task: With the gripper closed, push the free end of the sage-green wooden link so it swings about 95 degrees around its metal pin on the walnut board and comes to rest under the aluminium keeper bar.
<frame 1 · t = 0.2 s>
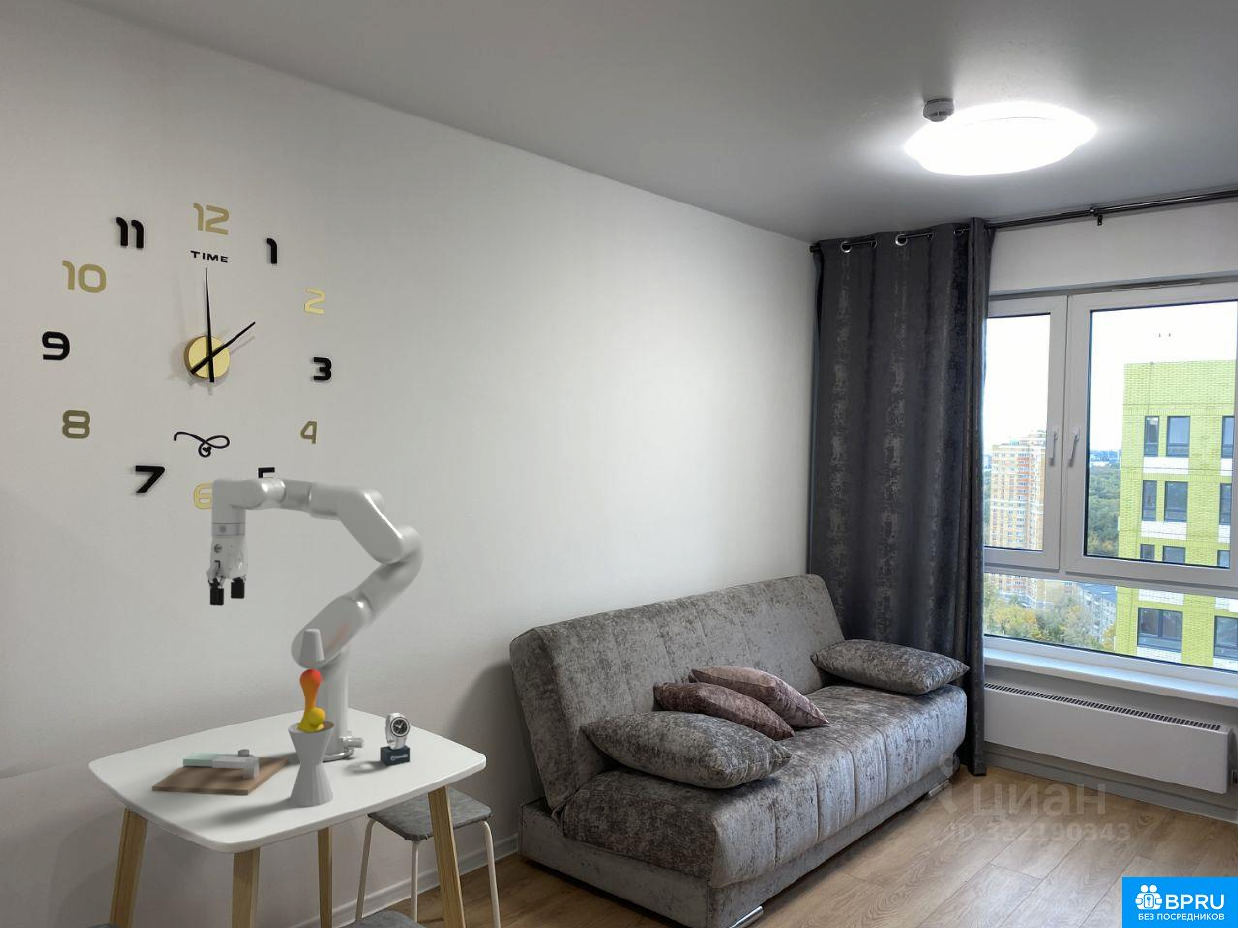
hand: (227, 601, 219), 36 cm above the table, tool pointing down, fingers open, 9 cm apart
keeper: (235, 780, 200), resting on board
board: (223, 775, 203), on the table
link: (220, 760, 207), point 2 cm above the table, hinge at 0.0°
lava lamp: (311, 799, 190), on the table
watch: (395, 762, 213), on the table
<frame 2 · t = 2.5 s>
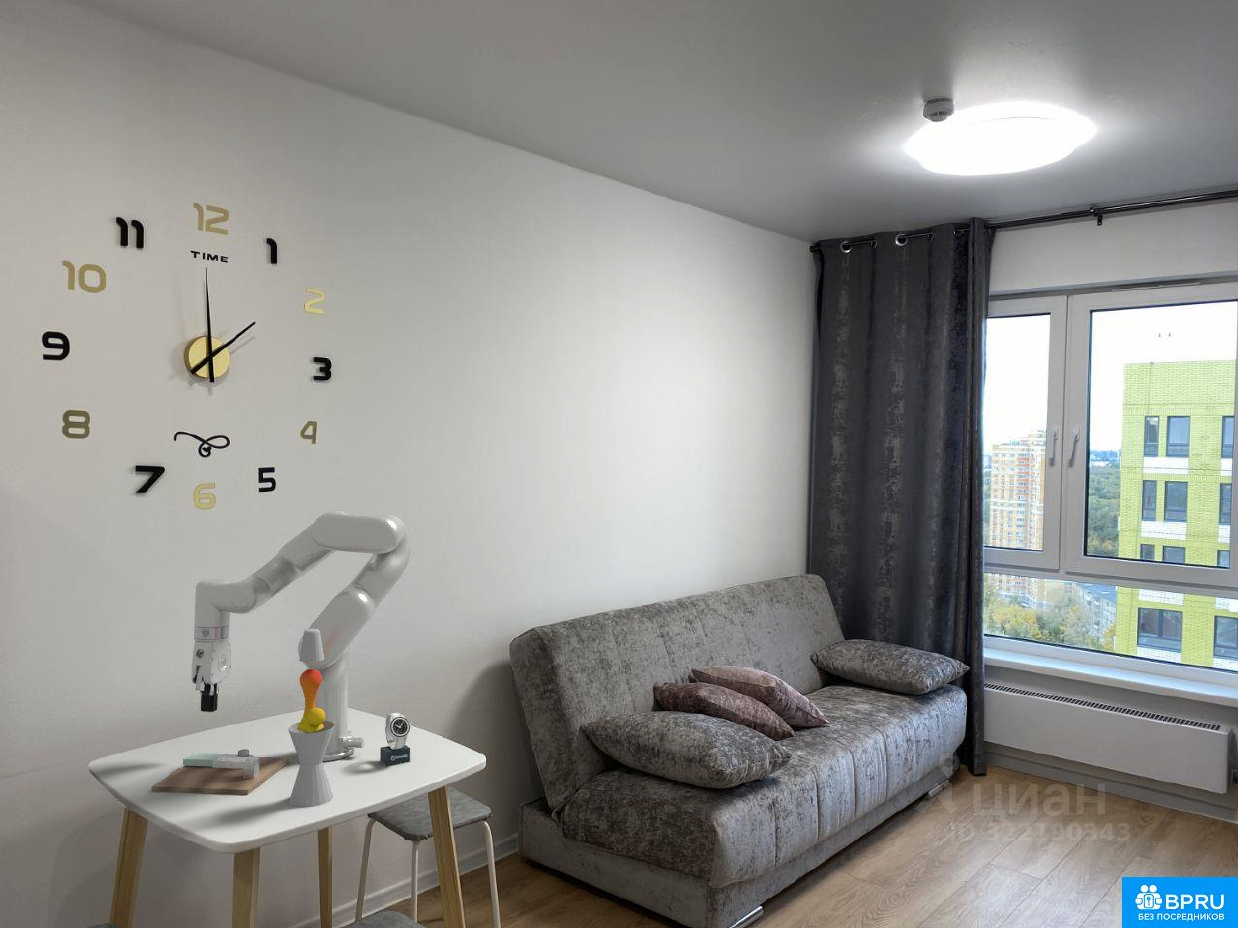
hand: (208, 710, 215), 11 cm above the table, tool pointing down, fingers closed
nothing on the table moved.
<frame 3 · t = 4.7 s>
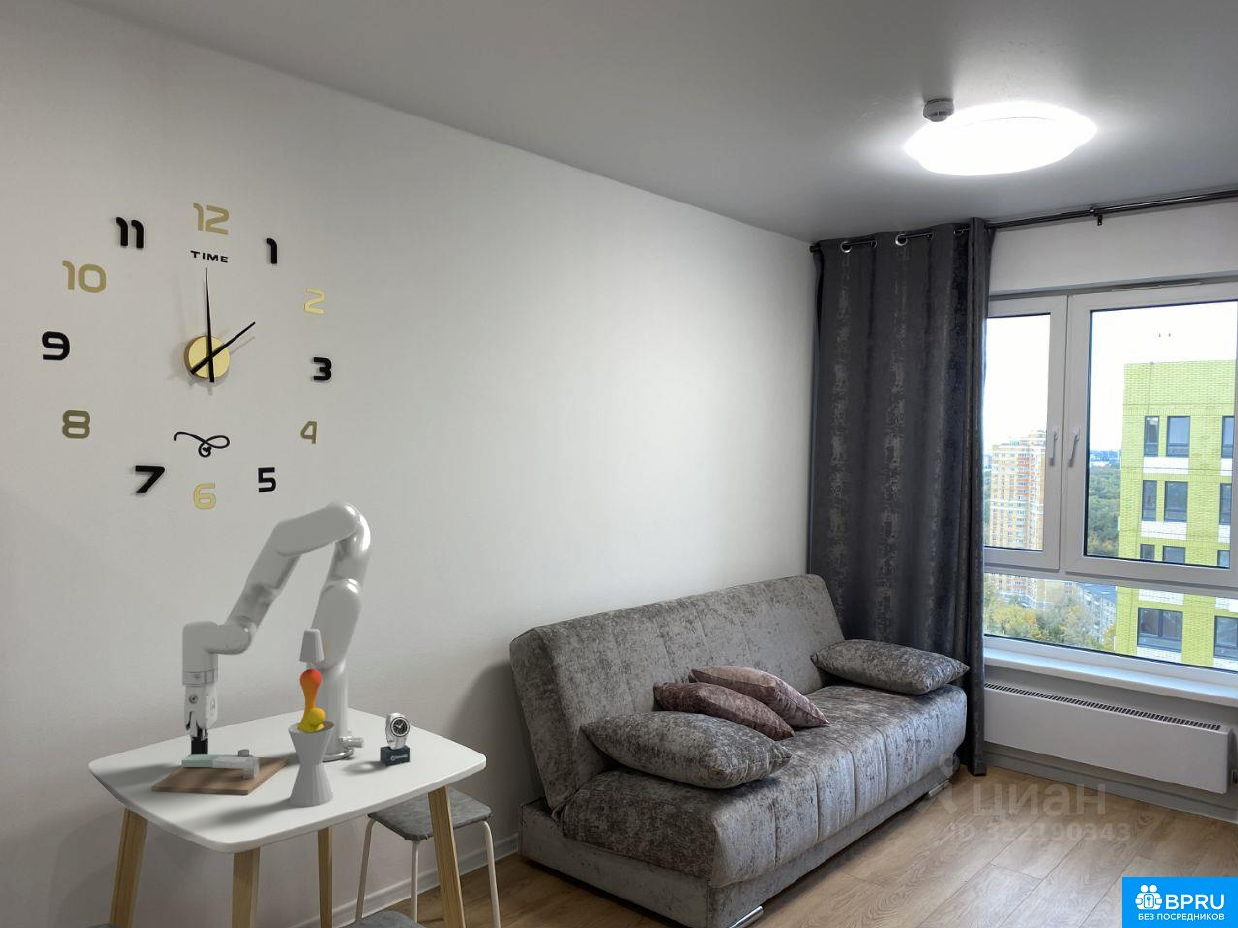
hand: (199, 756, 210), 2 cm above the table, tool pointing down, fingers closed
link: (219, 760, 206), point 2 cm above the table, hinge at 3.9°, touching gripper
everything else where it was.
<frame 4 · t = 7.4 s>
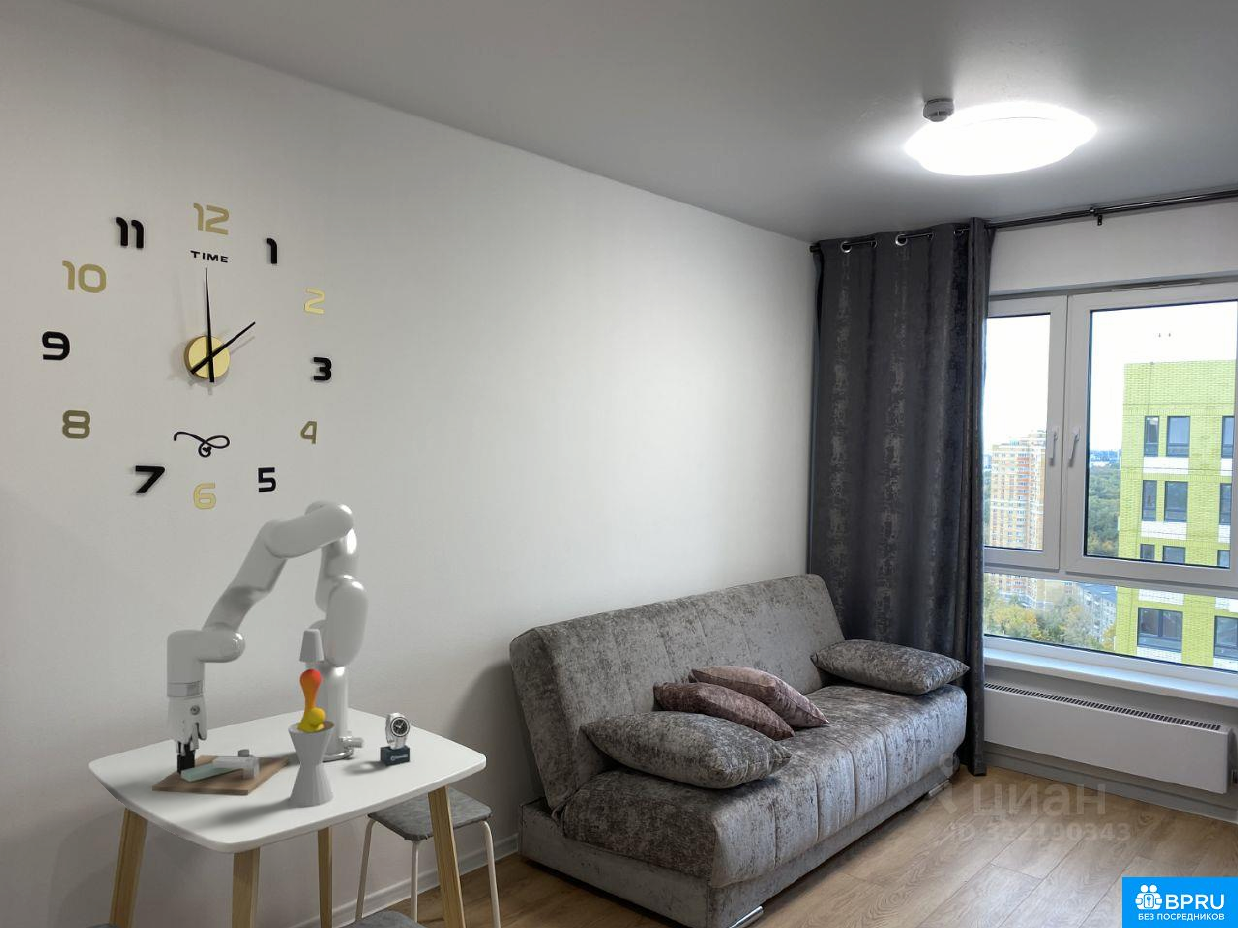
hand: (185, 771, 200), 2 cm above the table, tool pointing down, fingers closed
link: (220, 767, 202), point 2 cm above the table, hinge at 54.6°, touching gripper
everything else where it was.
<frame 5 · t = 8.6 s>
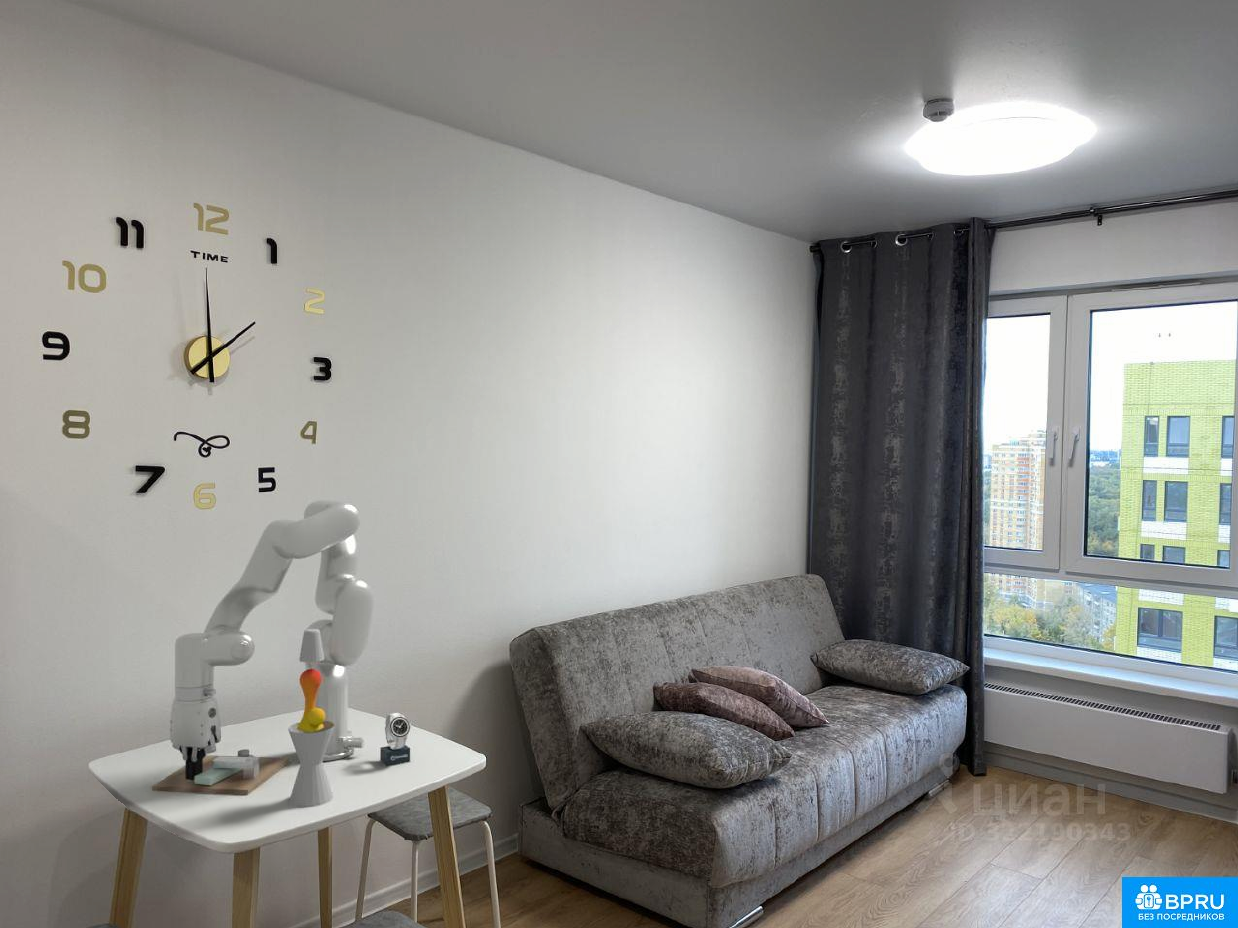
hand: (194, 777, 196), 2 cm above the table, tool pointing down, fingers closed
link: (227, 768, 201), point 2 cm above the table, hinge at 78.5°, touching gripper
everything else where it was.
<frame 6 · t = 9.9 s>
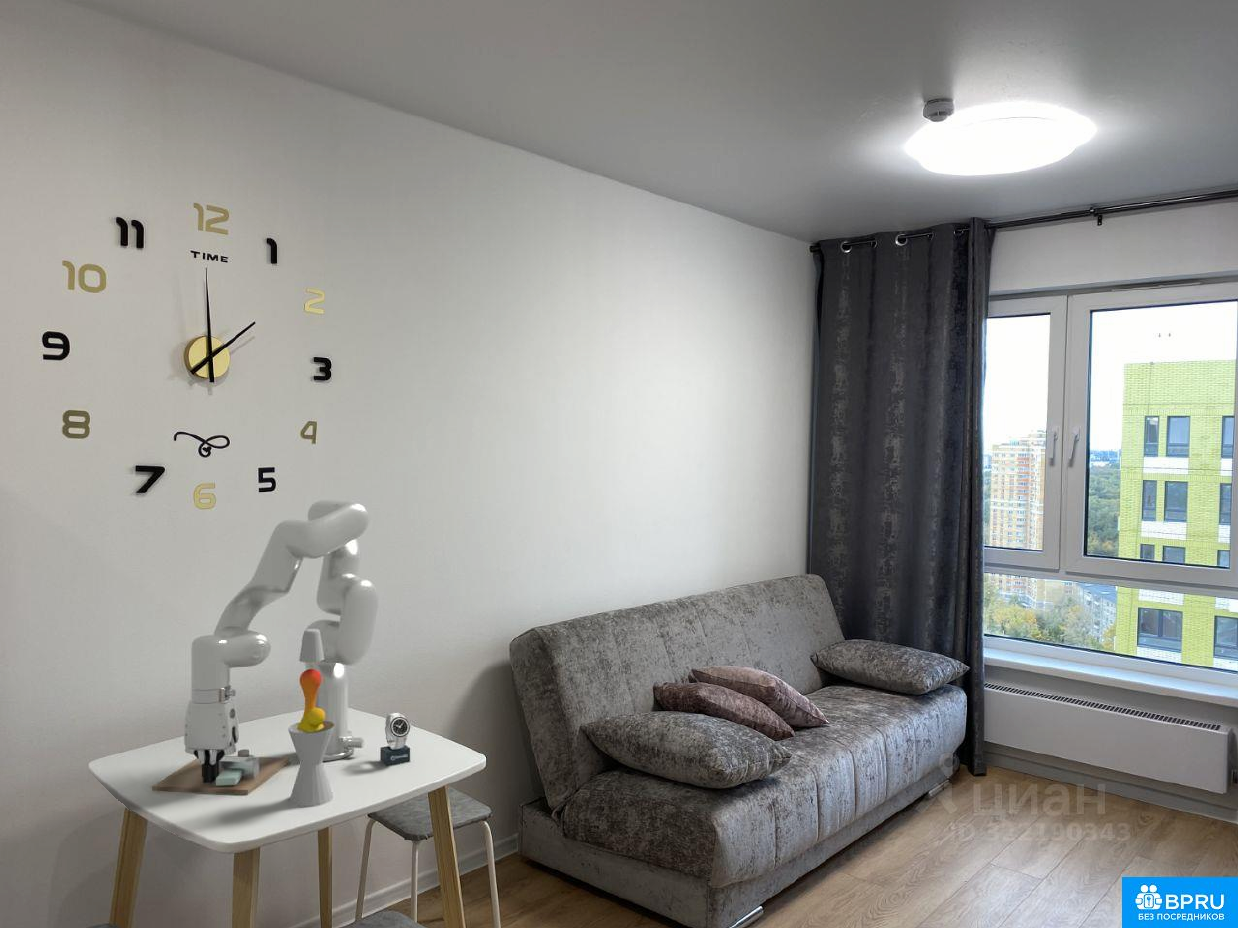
hand: (210, 780, 195), 2 cm above the table, tool pointing down, fingers closed
link: (236, 769, 201), point 2 cm above the table, hinge at 101.2°, touching gripper
everything else where it was.
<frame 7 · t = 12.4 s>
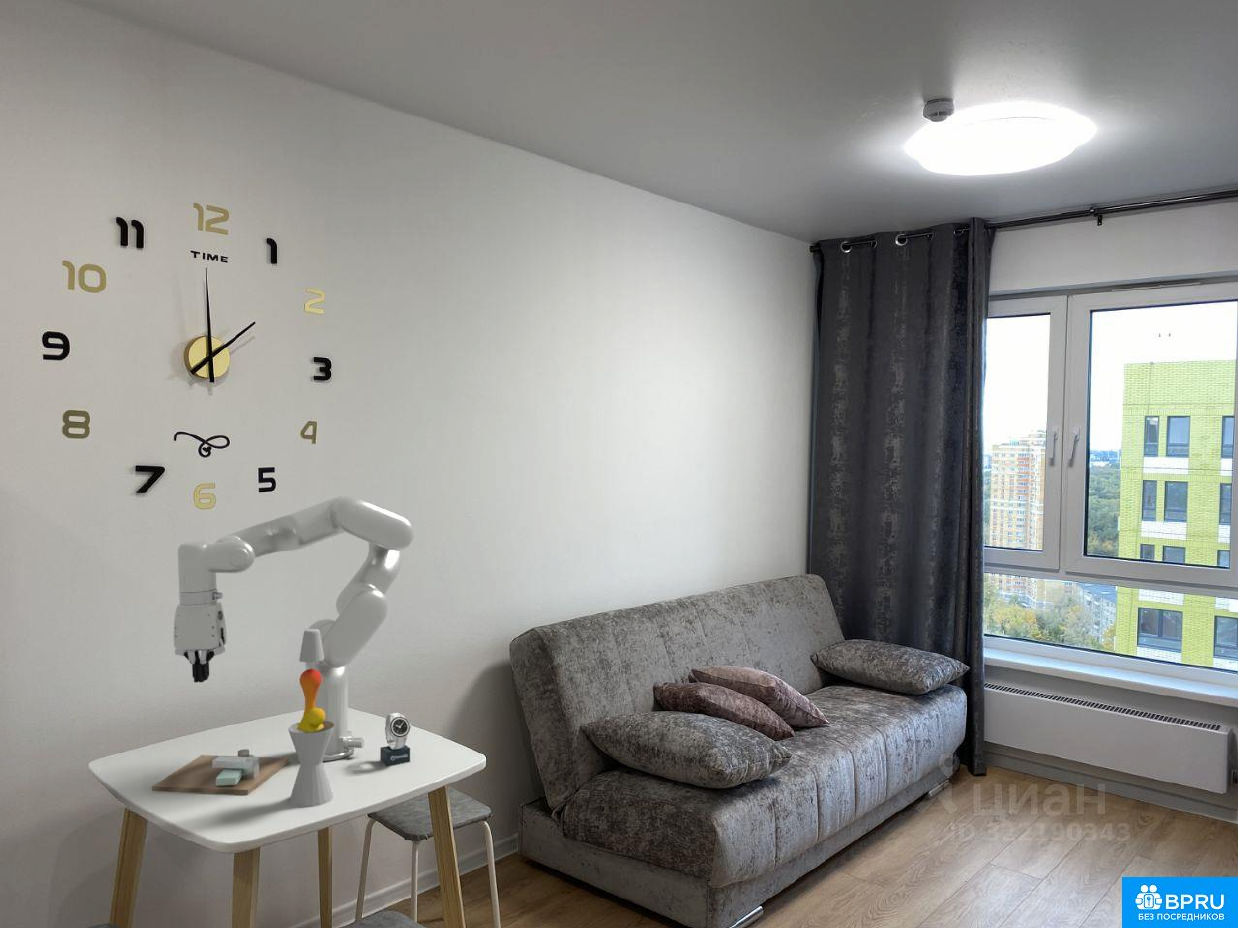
hand: (201, 680, 203), 21 cm above the table, tool pointing down, fingers closed
link: (236, 769, 201), point 2 cm above the table, hinge at 101.1°
everything else where it was.
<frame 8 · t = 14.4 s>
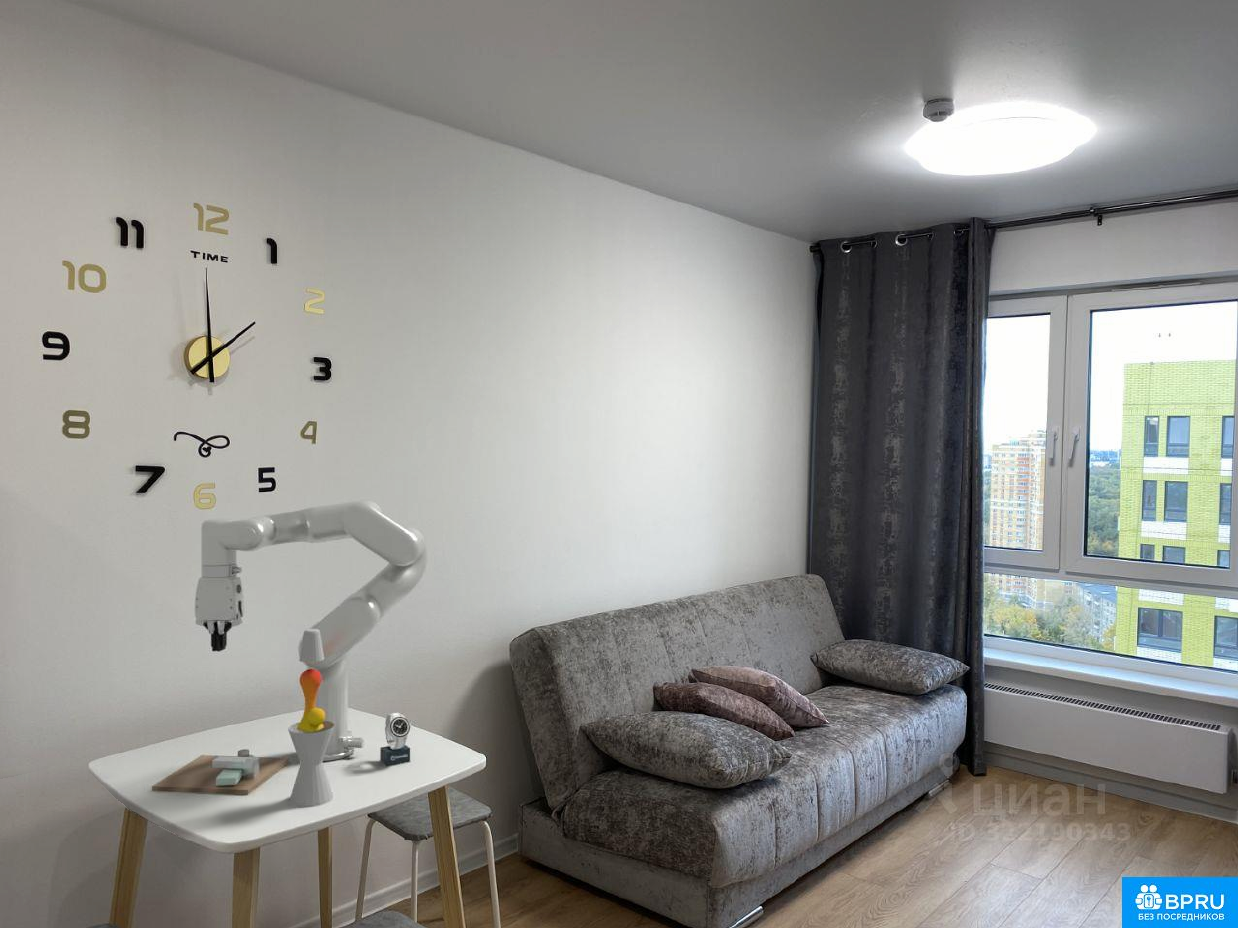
hand: (218, 649, 215), 25 cm above the table, tool pointing down, fingers closed
nothing on the table moved.
at the end: link at +101° (first picture: +0°); lava lamp moved 0.2 cm from its start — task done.
